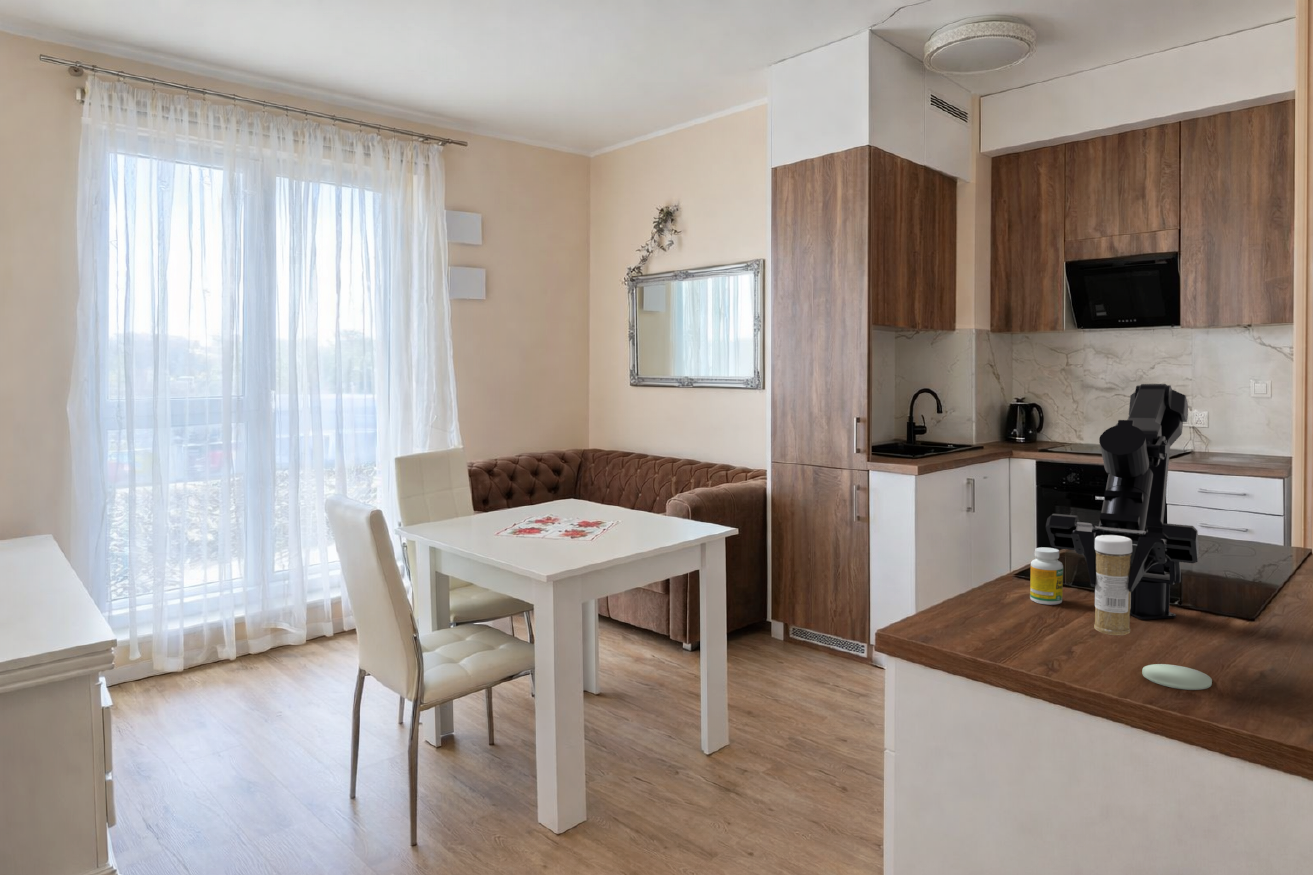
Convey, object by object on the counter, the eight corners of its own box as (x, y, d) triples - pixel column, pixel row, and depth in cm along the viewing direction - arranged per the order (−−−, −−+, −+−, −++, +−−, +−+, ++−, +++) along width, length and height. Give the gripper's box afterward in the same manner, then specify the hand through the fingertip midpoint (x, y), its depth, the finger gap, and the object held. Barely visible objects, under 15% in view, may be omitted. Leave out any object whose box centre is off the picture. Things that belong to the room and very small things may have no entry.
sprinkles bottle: (1131, 629, 114) (1134, 535, 113) (1128, 638, 110) (1130, 542, 109) (1095, 623, 117) (1097, 532, 116) (1090, 632, 113) (1092, 538, 112)
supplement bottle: (1032, 595, 151) (1033, 545, 150) (1064, 599, 148) (1065, 548, 147) (1027, 602, 147) (1028, 551, 146) (1060, 606, 144) (1061, 554, 143)
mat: (1181, 665, 115) (1182, 662, 115) (1226, 687, 107) (1226, 684, 107) (1129, 669, 114) (1129, 665, 114) (1170, 691, 106) (1170, 687, 106)
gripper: (1204, 534, 118) (1194, 628, 111) (1065, 522, 130) (1047, 605, 123) (1201, 489, 112) (1189, 586, 104) (1054, 480, 123) (1035, 566, 116)
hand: (1111, 587), depth 112 cm, fingers closed on sprinkles bottle, 4 cm apart
